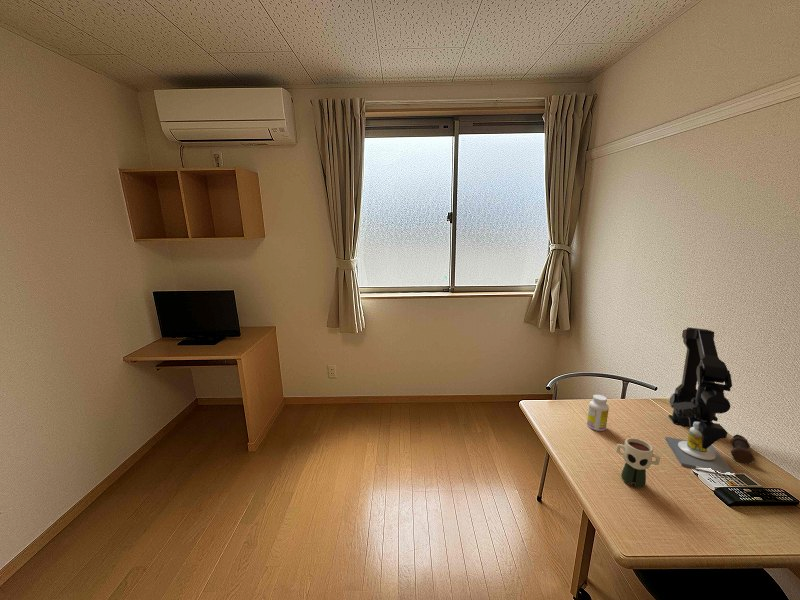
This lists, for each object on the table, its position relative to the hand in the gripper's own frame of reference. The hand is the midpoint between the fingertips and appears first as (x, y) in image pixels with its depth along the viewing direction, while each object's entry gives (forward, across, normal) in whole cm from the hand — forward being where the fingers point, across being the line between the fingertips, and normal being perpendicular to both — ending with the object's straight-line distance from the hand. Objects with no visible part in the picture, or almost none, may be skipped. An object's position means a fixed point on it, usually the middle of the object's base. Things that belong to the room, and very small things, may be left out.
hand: (698, 440), depth 118 cm
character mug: (+5, +24, -24) cm, 35 cm away
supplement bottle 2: (+4, 0, 0) cm, 4 cm away
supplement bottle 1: (+5, -6, -30) cm, 31 cm away
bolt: (+6, -7, +15) cm, 18 cm away
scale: (+5, +2, 0) cm, 5 cm away
